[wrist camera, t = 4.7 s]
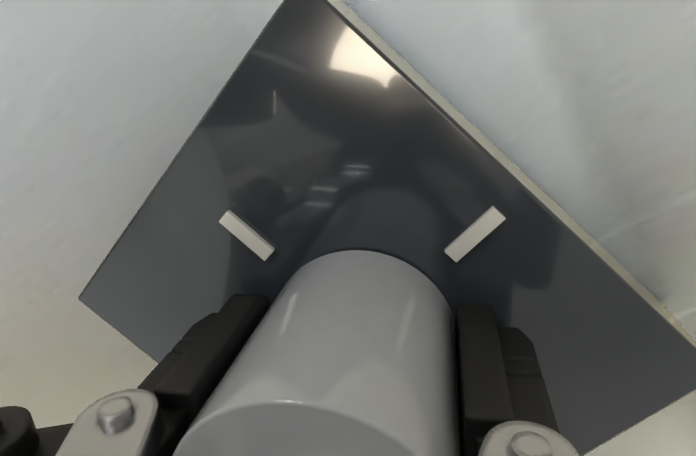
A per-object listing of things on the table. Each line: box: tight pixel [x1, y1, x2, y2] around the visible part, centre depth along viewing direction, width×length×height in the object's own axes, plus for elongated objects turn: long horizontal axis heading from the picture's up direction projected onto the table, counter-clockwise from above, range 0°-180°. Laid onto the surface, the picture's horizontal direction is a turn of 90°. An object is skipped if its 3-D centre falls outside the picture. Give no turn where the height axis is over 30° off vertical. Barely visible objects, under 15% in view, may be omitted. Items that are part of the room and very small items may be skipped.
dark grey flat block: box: [78, 0, 696, 456], centre depth 13 cm, size 12×10×3 cm
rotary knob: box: [173, 250, 463, 456], centre depth 9 cm, size 4×4×5 cm
